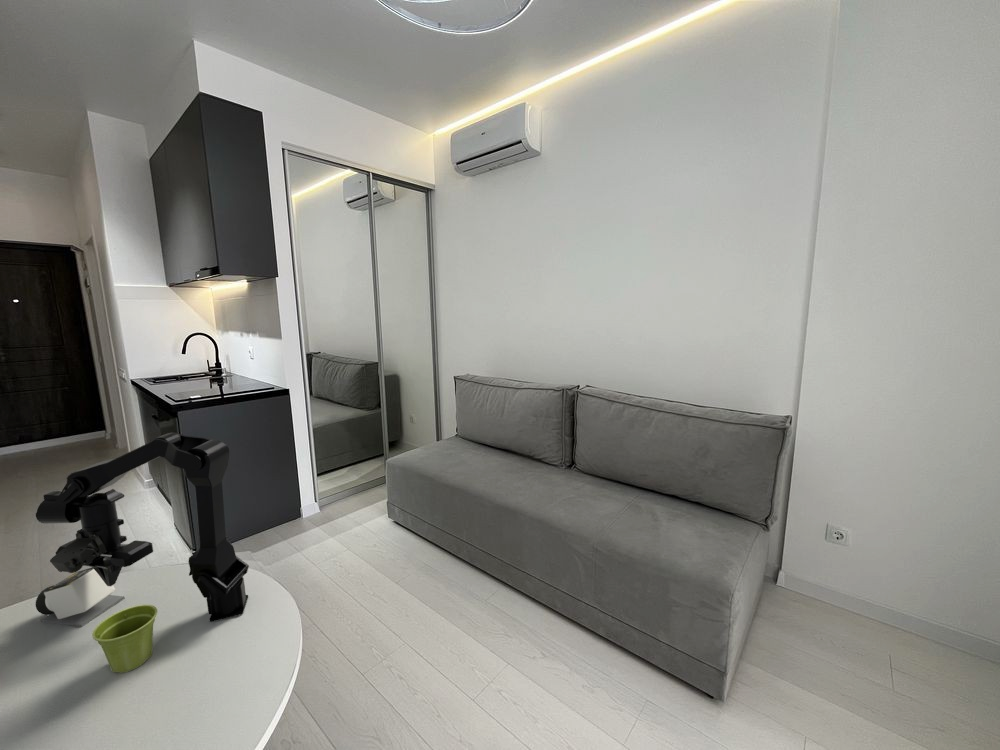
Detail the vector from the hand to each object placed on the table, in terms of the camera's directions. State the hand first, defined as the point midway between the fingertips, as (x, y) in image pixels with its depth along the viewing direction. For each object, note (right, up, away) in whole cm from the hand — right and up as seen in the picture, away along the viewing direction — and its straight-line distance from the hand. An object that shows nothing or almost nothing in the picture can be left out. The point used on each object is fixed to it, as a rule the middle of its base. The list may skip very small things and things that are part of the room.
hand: (111, 585), depth 93 cm
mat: (-9, -7, +3) cm, 11 cm away
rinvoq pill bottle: (-4, 0, 0) cm, 4 cm away
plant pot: (+15, -9, -12) cm, 21 cm away
